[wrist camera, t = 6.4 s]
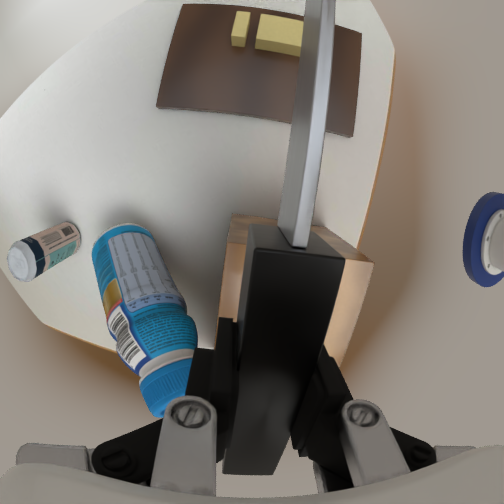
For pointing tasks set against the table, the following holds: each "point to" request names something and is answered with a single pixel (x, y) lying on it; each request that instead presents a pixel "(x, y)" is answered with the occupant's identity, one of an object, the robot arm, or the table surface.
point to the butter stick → (279, 35)
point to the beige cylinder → (42, 251)
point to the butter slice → (240, 29)
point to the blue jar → (145, 313)
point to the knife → (287, 275)
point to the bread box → (348, 294)
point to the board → (250, 69)
